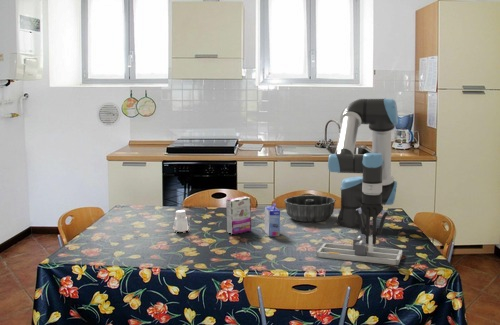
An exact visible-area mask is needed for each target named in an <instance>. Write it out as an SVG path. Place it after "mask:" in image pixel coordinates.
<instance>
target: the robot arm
mask: <svg viewBox="0 0 500 325" xmlns="http://www.w3.org/2000/svg"><path fill="white" fill-rule="evenodd" d="M339 122H340V123H339V124H340V127H339V128H340V129H339V134H338V138H337V143H336V149H335V152H334V153H331V154H329V155H328V161H327V167H328V168H327V169H328V171H329V172H330V173H336V174H337V173H338V174H362V176H351V177H345V178H344V179H342V181H341V186H340V210H339V212H338V215H337V218H336V219H337V220H336V223H337V225H339V226H341V227H346V228H359V229H360V233H361V234H362V235H364V236H365V242H366V244H367V245H368V246H369V247H368V253H373V247H374V245H377V244H376V243H377V236H378V237H379V236H381V234H382V231H383V227H384V224H385V222H386V217H387V216H388V215H389V211H388V210H386V209H384V207H383V206H387V205H388V206H391V205H394V203H395V199H396V194H397V187H398V182H397V181H395V177H393V176H392V173H391V172H392V131H393V130H395V126H396V125H398V124H399V115H398V106H397V102H396V100H395V99H393V98H386V97H385V98H358V99H356V100H353V101H351V102H350V103H349V104H348V105H346V107H345V108H344V109H343V111H342V112H341V115H340V117H339ZM361 125H368V128H369V130H370V131H371V138H372V139H371V140H372V142H371V143H372V145H371V146H372V148H371V149H372V150H371V151H372V152H366V153H364V154H355V149H356V142H357V137H358V131H359V128H360V127H361ZM380 214H381V220H380V223H379V226H378V225H377V222H378V221H377V220H378V216H379V215H380ZM371 217H372V234H371ZM377 226H378V228H377ZM377 229H378V230H377Z"/></svg>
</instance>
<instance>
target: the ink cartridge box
mask: <svg viewBox="0 0 500 325" xmlns="http://www.w3.org/2000/svg"><path fill="white" fill-rule="evenodd" d="M276 206H277V203H275V202H273V204H272V206H265V207H264V229H263V230H264V231H263V232H265V234H266V235H267V236H268V237H280V234H281V231H280V230H281V229H280V228H281V211H280V209H278V207H276Z"/></svg>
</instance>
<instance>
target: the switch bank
mask: <svg viewBox="0 0 500 325" xmlns="http://www.w3.org/2000/svg"><path fill="white" fill-rule="evenodd" d="M368 247H369V245H367V256H357V255H355V250H353V244H341V243H334V242H333V243H330V242H324V243H323V244H322V245H321V246H320V247H319V248H318V249H317V251H316V256H315V257H316V258H324V259H325V258H326V259H334V260H344V261H354V262H364V263H374V264H381V265H383V264H384V265H392V266H393V265H394V266H399V265H400V262H401V259H402V257H403V249H395V248H386V247H385V248H384V247H375V246H373V253H368Z"/></svg>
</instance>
